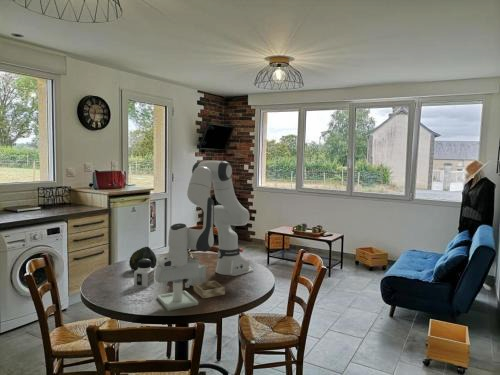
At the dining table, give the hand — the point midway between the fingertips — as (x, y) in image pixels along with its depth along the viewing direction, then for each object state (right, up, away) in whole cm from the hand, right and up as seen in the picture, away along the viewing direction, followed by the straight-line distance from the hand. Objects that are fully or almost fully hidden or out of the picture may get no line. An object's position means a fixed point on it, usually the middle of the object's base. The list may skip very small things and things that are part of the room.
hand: (177, 288), depth 170 cm
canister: (0, -6, 0) cm, 6 cm away
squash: (-29, -2, +46) cm, 54 cm away
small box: (+6, -5, +24) cm, 25 cm away
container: (-22, -4, +22) cm, 31 cm away
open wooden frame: (+13, -5, +13) cm, 19 cm away
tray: (0, -6, 0) cm, 6 cm away
